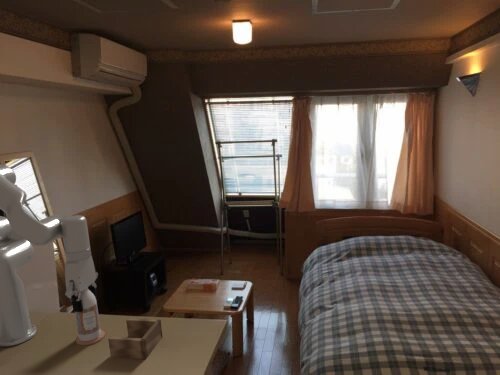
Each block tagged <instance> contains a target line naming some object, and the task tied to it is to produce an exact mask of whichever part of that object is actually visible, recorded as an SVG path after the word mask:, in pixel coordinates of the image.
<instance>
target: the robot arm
mask: <svg viewBox="0 0 500 375" xmlns="http://www.w3.org/2000/svg"><path fill="white" fill-rule="evenodd" d="M16 181H17V175H16V172H15V171H14V170H13V169H12V168H11V167H9V166H8V165H4V164H0V210H1V211H2V212H4V213H5V215H6V217H5V216H2V215H0V347H12V346H17V345H20V344H22V343H24V342H26V341H28V340H30V339H32V338H33V337H34V336H35V335H36V333H37V332H38V331H37V330H38V329H37V327H36V325H34V324H32V323H31V320H30V314H29V308H28V303H27V302H28V301H27V296H26V291H25V285H24V282H23V281H22V279H21V277H19V275H18V273H17V272H18V271H19V270H21V269H23V268H25V267H26V266H27V265H28V266H29V264H30V263H32V261H33V260H35V259H34V258H35V256H36V251H35V248H34V246H33V245H35V246H39V247H41V246H43V247H44V246H47V245H49V244H50V243H52V242H55V241H56V240H58V239H61V238H62V239H63V240H62V242H63V247H64V255H65V261H66V262H65V263H64V278H65V281H64V282H65V289H66V290H65V293H64V295H65V296H66V297H67V298H68V299H69V301H70V302H71V305H72V311H73V312H74V313H75V312H82V311H83V306H82V300H80V297H81V291H83V290H84V289H86V288H87V287H88V289H89V290H90V291H91V292H92V293H93V294H94V296H95V298H96V301H97V300H98V295H97V287H98V286H97V283H98V276H99V273H98V272H97V271H96V267H95V264H94V260H93V256H92V251H91V243H90V236H89V228H88V221H87V218H86V217H85V216H84V215H81V214H77V215H76V214H75V215H65V214H57V213H56V214H52V215H50V216H48V217H45V218H43V219H39V220H37V219H36V218H35V217H33V216H31V215H30V214H29V213H27V212H26V210H25V209H24V207H23V205H25V203H26V201H27V196H28V195H27V192H25V190H23V189H22V188H21V187H19V186H18V185H16ZM76 295H77V296H76Z"/></svg>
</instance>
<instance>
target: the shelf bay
mask: <svg viewBox="0 0 500 375" xmlns="http://www.w3.org/2000/svg"><path fill="white" fill-rule="evenodd" d="M125 320H126V322H125V323H126V329H127V336H128V337H126V336H125V337H123V336H109V337H108V339H107V340H108V346H109V347H108V348H109V354H110V357H112V358H126V359H140V360H146V359H147V358H148V357H149V355H150V354H151V353H152V351H153V350H154V348H156V347H157V345H158V344H159V342H160V341H161V339H162V338H163V328H162V320H161V319H153V318H152V319H151V318H129V317H128V318H127V319H125Z"/></svg>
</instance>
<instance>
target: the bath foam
mask: <svg viewBox="0 0 500 375" xmlns="http://www.w3.org/2000/svg"><path fill="white" fill-rule="evenodd" d="M75 296H77V294H75ZM80 300H82V306H83V311H82V312H74V314H75V323H76V328H77V336H79V339H80V340H81V341H91V340H94V339H96V338H98V337H99V336H100V334H101V330H102V329H101V323H100V316H99V309H98V302H97V300H96V298H95V296H94V294H93V293H92V292H91V291H90V290H89V289H88V287H87V288H86V289H84V290H83V291H81V297H80Z"/></svg>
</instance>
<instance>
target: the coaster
mask: <svg viewBox="0 0 500 375" xmlns="http://www.w3.org/2000/svg"><path fill="white" fill-rule="evenodd" d="M100 330H101V334H100V336H99V337H98V338H96V339H94V340H91V341H81V340H80V339H79V336H78V335H77V337H76V338H75V341H76V342H75V343H76V344H77V345H79V346H91V345H95V344H97V343H99V342H101V341H103V339H104V338H105V337H106V336H105V335H106V332H105V331H104V330H103V329H100Z"/></svg>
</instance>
